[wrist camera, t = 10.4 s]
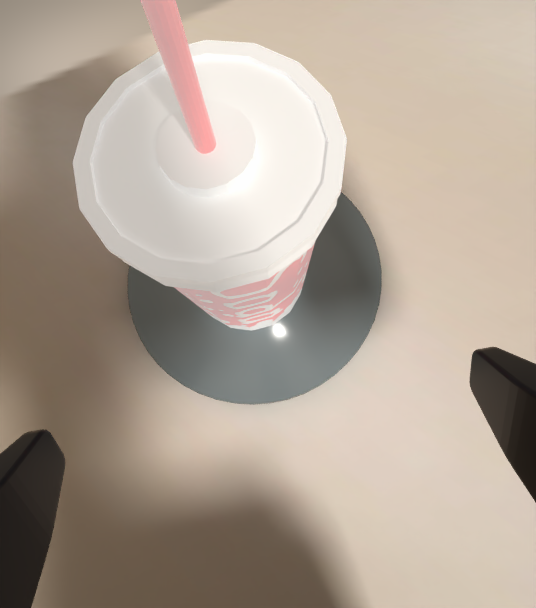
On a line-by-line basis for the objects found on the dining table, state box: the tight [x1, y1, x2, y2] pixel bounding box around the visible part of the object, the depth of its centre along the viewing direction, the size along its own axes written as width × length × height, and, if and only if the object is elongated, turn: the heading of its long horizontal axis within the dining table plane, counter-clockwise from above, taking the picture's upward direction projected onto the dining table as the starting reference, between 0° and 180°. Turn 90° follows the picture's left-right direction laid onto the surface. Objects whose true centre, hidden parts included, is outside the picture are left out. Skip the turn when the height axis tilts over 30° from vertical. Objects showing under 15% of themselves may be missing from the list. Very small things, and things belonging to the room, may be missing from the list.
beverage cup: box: [72, 0, 347, 331], centre depth 11 cm, size 6×6×14 cm
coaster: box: [128, 192, 381, 405], centre depth 18 cm, size 11×11×1 cm
